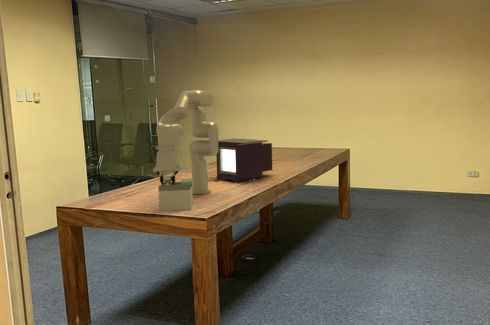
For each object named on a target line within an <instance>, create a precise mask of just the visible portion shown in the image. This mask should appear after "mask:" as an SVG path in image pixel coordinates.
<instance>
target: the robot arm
mask: <svg viewBox="0 0 490 325" xmlns="http://www.w3.org/2000/svg"><path fill="white" fill-rule="evenodd" d="M213 103H214V95H213V93H212V92H210V91H206V90H199V89H196V90H184V91H182V92H181V93H180V94H179V97H178V99H177V101H176V103H175V105H174V108H171V109H170V110H169V111H167V112H166V113H165V114H163V115H162V116H161V118H160V119H159V121H158V123H157V126H156V128H155V130H156V132H155V133H156V134H157V140H158V142H157V145H158V146H155V150H158V151H157V153H156V163H155V164H156V165H155V166H154V167H153V169H152V171H153V172H154V173H155V174H156V175H157V176H158V177H159V183H161V184H163V182H164V181H163V176H164V175H163V172H171V174H172V175H171V176H172V181H171V182H172V184H174V182H176V175H177V174H178V173H179V172H181V171H182V168H181V167H180V165H179V164H178V161H177V154H176V151H175V150H174V149H175V148H174V139H175V138H176V139H178V138H181V137H182V136H183V134H184V130H185V129H184V126H183V125H182V124H180V123H175V122H178V121H182V120H183V119H186V118H187V117H188V116H189V114H190V113H191V135H192V137H193V138H197V139H196V140H193V141H191V142H190V143H189V145H188V150H189V155H190V166H191V179H192V192H193V195H205V194H210V193H211V192H212V190H211V189H210V188H209V175H208V173H209V172H208V162H207V159H206V158H205V157H216V155H217V153H218V140H219V127H218V124H217V123H216V122H214V121H207V113H206V111H205V109H204V108H203V107H211V106H212V105H213ZM205 138H206V139H207V140H206V139H205ZM161 184H160V185H161Z"/></svg>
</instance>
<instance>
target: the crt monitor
mask: <svg viewBox="0 0 490 325" xmlns="http://www.w3.org/2000/svg"><path fill="white" fill-rule="evenodd" d="M215 157H216V180H218V181H222V180H223V181H229V180H230V181H232V183H235V182H237V183H236V184H240V183H239V182H242V183H245V182H244V181H247V182H250V181H249V180H252V181H254V180H253V179H257V180H260V179H259V178H262V179H263V177H264V175H263V173H264V172H268V171H273V143H272V142H269V140H267V139H249V138H225V139H218V153H217V155H215ZM227 179H228V180H227Z"/></svg>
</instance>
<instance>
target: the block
mask: <svg viewBox="0 0 490 325" xmlns="http://www.w3.org/2000/svg"><path fill="white" fill-rule="evenodd" d="M180 182H181V181H175V182H174V184H172V181H171V185H165V181H163V184H160V185H158V187H157V188H158V203H159V204H158V205H159V211H183V210H185V211H188V210H192V208H193V205H194V198H193V197H194V196H193V195H194V194H193V192H192V182H191V184H190V185H180Z"/></svg>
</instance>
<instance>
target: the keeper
mask: <svg viewBox="0 0 490 325" xmlns="http://www.w3.org/2000/svg"><path fill="white" fill-rule="evenodd" d="M179 182H180V185H190V184H191V182H192V178H182V179H181V180H180V181H179Z"/></svg>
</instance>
